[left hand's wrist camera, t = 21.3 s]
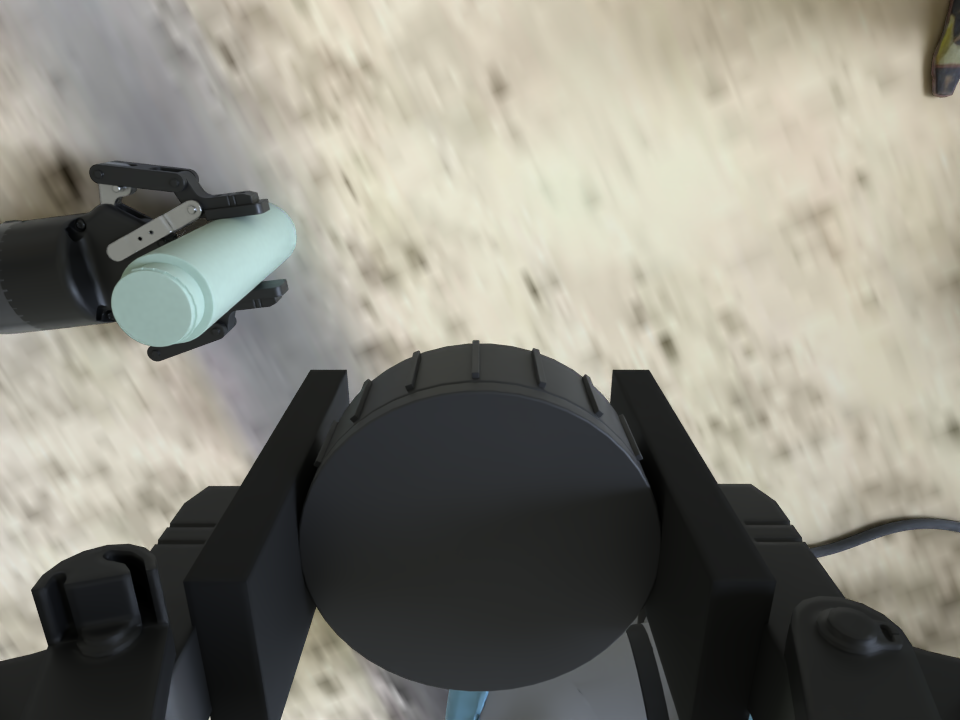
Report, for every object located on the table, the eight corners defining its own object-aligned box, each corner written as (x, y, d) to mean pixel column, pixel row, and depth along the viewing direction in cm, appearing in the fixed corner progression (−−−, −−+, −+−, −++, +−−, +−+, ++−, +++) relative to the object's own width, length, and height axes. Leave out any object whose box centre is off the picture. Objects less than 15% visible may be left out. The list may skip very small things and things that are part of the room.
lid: (279, 374, 11) (241, 428, 10) (619, 310, 11) (647, 354, 9) (365, 632, 13) (348, 717, 12) (655, 586, 13) (684, 666, 11)
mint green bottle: (304, 258, 52) (215, 345, 35) (243, 271, 53) (124, 363, 35) (285, 195, 51) (180, 252, 33) (222, 208, 51) (84, 272, 33)
